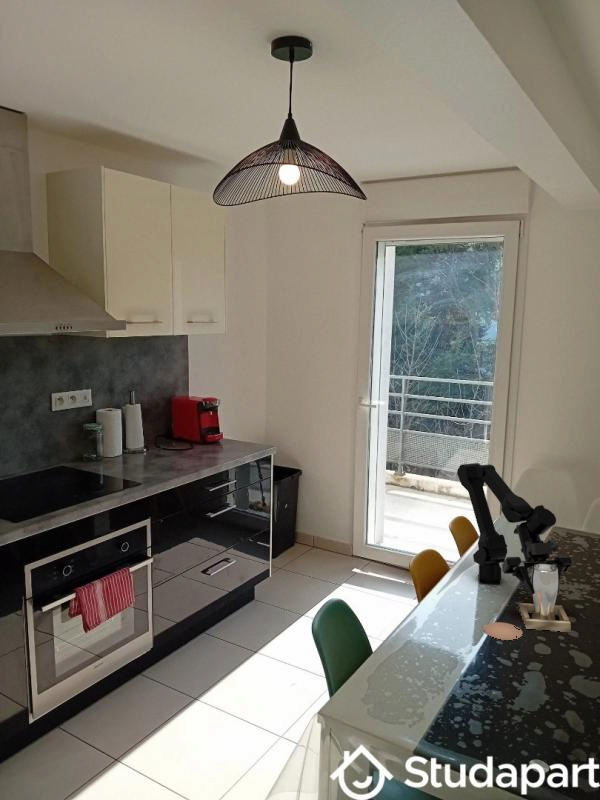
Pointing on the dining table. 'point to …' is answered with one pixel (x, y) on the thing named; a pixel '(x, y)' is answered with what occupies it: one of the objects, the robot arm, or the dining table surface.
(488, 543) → the robot arm
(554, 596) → the beer glass
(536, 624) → the pocket frame
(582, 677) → the dining table surface
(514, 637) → the mat
